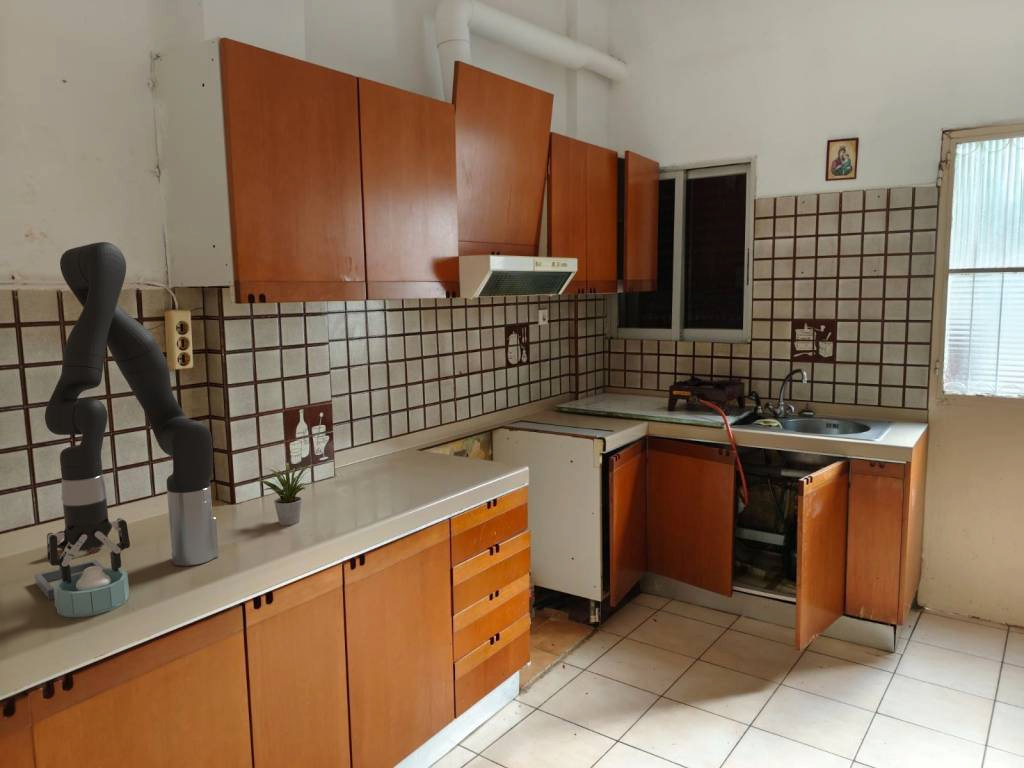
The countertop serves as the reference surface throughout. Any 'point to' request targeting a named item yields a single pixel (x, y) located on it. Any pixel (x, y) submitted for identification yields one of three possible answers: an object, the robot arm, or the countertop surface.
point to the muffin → (92, 579)
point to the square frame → (59, 577)
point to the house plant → (287, 496)
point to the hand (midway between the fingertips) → (92, 576)
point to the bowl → (91, 595)
